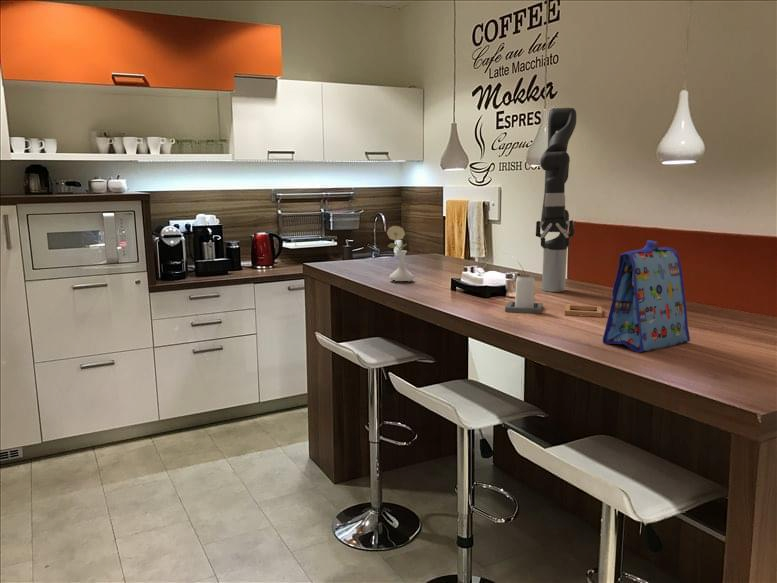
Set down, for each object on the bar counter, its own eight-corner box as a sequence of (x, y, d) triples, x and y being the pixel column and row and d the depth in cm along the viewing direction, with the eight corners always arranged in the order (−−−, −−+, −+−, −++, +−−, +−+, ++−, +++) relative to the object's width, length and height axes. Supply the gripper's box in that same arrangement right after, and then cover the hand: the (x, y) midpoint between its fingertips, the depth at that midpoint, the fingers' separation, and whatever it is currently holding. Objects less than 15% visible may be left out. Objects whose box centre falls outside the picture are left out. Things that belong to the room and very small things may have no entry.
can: (533, 311, 225) (535, 277, 223) (514, 310, 226) (516, 276, 224) (533, 307, 231) (534, 274, 229) (515, 307, 232) (516, 274, 230)
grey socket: (509, 305, 236) (509, 301, 236) (542, 307, 233) (542, 302, 232) (505, 311, 225) (505, 307, 224) (540, 313, 221) (540, 309, 221)
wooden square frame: (565, 308, 230) (565, 304, 230) (601, 310, 227) (601, 306, 227) (564, 315, 219) (564, 310, 219) (602, 317, 216) (602, 312, 215)
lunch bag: (649, 333, 193) (656, 237, 188) (691, 343, 182) (699, 240, 177) (600, 343, 182) (606, 240, 177) (642, 354, 171) (649, 245, 166)
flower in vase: (418, 280, 293) (418, 225, 288) (408, 284, 282) (408, 227, 278) (391, 278, 298) (391, 224, 294) (381, 282, 288) (381, 226, 283)
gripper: (575, 204, 247) (575, 247, 249) (538, 205, 253) (538, 247, 255) (572, 204, 240) (572, 248, 242) (534, 205, 246) (534, 248, 248)
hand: (554, 247), depth 248 cm, fingers open, 8 cm apart
